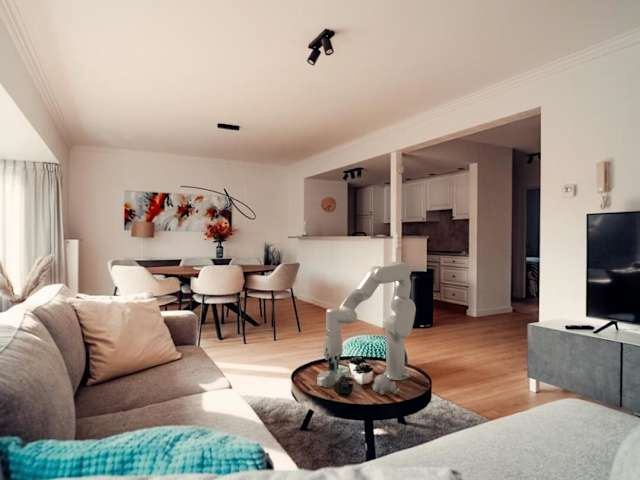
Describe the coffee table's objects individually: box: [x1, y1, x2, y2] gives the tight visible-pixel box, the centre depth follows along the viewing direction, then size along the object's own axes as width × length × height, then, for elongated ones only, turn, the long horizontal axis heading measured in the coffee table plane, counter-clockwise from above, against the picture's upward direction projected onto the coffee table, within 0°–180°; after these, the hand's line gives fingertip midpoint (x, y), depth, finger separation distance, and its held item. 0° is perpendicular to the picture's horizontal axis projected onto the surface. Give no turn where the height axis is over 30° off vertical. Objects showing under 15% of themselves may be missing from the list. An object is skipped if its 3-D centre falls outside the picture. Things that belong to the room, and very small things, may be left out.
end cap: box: [332, 375, 354, 398], centre depth 183 cm, size 10×7×7 cm
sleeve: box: [317, 370, 336, 389], centre depth 193 cm, size 5×7×5 cm
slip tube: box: [316, 360, 338, 387], centre depth 194 cm, size 3×12×9 cm, turn 137°
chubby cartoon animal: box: [372, 373, 400, 396], centre depth 181 cm, size 7×12×8 cm, turn 83°
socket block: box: [336, 364, 351, 381], centre depth 201 cm, size 7×6×6 cm
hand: (333, 369), depth 197 cm, fingers closed on slip tube, 2 cm apart
